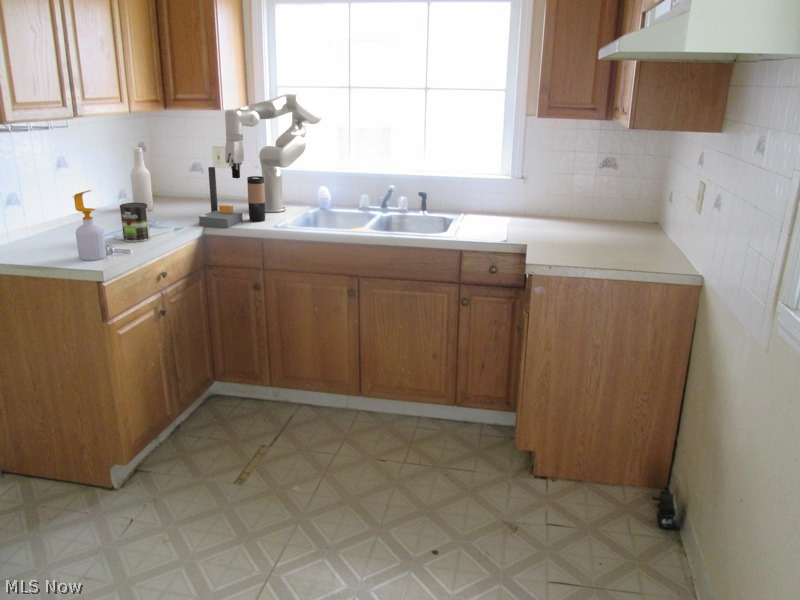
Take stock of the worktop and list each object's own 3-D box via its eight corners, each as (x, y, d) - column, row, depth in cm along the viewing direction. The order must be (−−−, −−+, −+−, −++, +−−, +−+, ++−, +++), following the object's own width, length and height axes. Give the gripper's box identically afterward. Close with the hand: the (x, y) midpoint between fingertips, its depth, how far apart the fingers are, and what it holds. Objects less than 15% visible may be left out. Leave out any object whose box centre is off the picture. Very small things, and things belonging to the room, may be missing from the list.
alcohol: (147, 212, 310) (141, 149, 301) (130, 211, 312) (123, 148, 302) (157, 208, 319) (150, 147, 309) (140, 207, 320) (133, 146, 310)
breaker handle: (221, 211, 297) (221, 204, 296) (233, 212, 296) (232, 205, 295) (219, 212, 295) (218, 205, 294) (231, 213, 294) (230, 206, 293)
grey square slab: (215, 219, 300) (214, 210, 299) (242, 221, 297) (242, 212, 296) (199, 225, 288) (198, 216, 286) (227, 227, 285) (227, 218, 283)
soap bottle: (96, 261, 229) (87, 193, 221) (73, 259, 231) (63, 191, 223) (111, 255, 238) (103, 189, 230) (89, 253, 239) (80, 187, 231)
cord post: (211, 214, 310) (208, 165, 303) (226, 215, 308) (223, 166, 301) (203, 217, 303) (199, 168, 295) (218, 218, 301) (215, 169, 294)
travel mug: (267, 219, 304) (266, 176, 298) (262, 222, 297) (261, 178, 290) (252, 218, 305) (250, 175, 298) (246, 221, 298) (244, 178, 291)
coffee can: (142, 243, 256) (138, 208, 251) (118, 241, 257) (114, 206, 252) (155, 237, 266) (152, 203, 261) (132, 235, 267) (128, 201, 262)
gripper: (234, 136, 304) (236, 175, 309) (219, 138, 290) (221, 179, 296) (249, 137, 302) (250, 176, 308) (234, 139, 288) (235, 180, 294)
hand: (236, 177), depth 302 cm, fingers closed
